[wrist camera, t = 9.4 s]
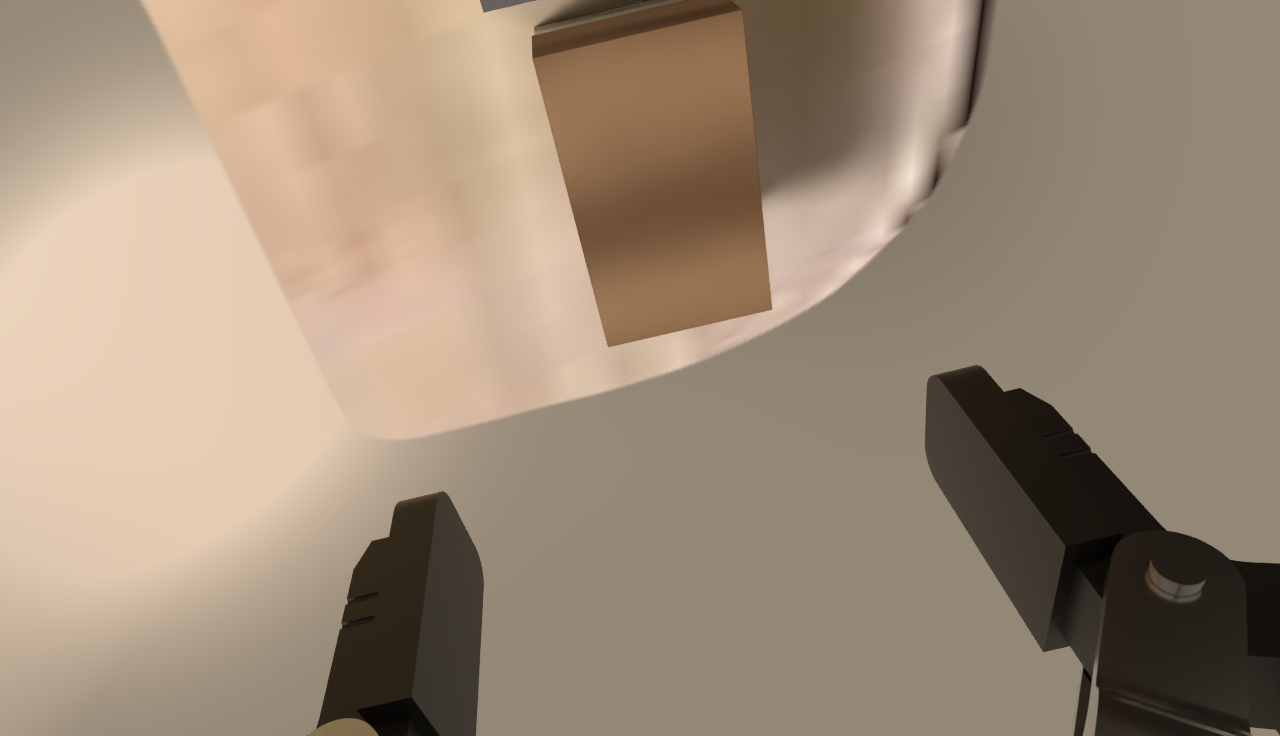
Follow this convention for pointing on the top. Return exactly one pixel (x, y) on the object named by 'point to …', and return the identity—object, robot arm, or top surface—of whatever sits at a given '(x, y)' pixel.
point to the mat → (500, 4)
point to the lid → (660, 164)
